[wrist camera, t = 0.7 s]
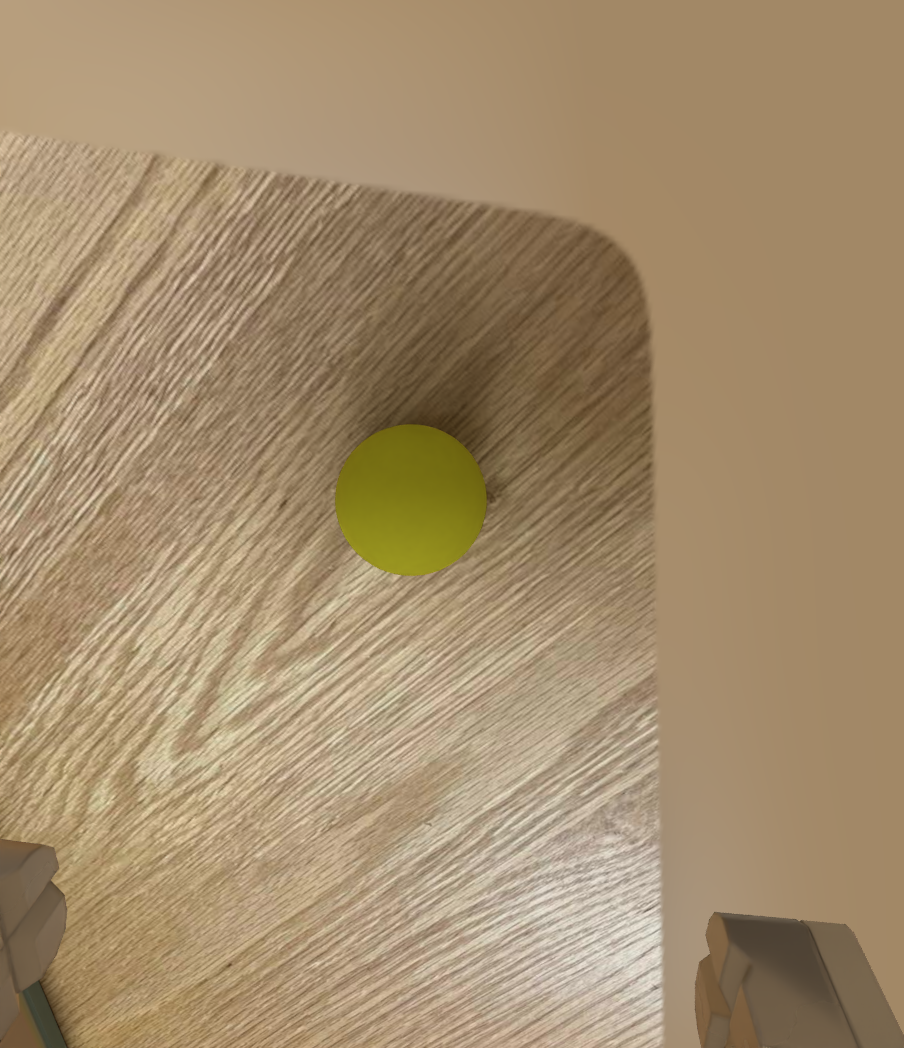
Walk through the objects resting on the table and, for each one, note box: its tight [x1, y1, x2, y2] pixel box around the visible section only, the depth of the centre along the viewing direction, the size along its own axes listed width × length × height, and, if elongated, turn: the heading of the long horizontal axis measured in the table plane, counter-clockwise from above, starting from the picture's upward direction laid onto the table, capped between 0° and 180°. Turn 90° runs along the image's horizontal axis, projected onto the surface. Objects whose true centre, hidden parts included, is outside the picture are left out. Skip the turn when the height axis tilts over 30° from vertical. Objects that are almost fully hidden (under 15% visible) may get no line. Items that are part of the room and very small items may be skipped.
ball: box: [335, 424, 487, 576], centre depth 23 cm, size 5×5×5 cm
